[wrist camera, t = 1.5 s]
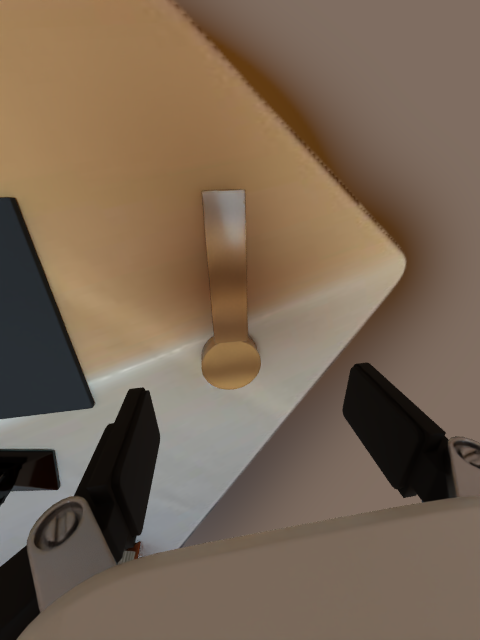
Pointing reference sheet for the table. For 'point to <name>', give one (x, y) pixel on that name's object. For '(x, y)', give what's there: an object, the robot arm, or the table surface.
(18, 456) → the black block on plate
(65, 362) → the mat
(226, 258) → the wooden disc with bar
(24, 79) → the table surface
